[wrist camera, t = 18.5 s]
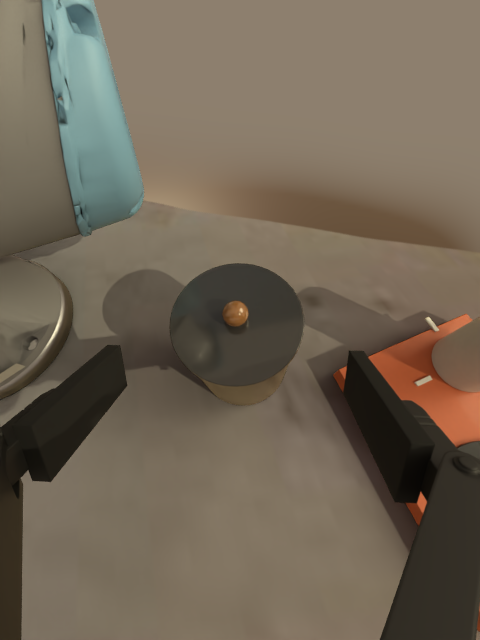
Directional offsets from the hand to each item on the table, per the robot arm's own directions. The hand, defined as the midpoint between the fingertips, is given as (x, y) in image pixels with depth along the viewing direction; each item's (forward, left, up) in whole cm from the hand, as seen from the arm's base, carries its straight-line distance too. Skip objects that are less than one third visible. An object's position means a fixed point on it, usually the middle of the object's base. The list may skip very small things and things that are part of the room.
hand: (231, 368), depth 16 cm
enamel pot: (-3, +1, -10) cm, 10 cm away
